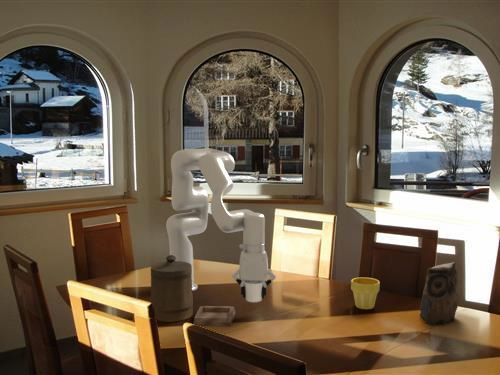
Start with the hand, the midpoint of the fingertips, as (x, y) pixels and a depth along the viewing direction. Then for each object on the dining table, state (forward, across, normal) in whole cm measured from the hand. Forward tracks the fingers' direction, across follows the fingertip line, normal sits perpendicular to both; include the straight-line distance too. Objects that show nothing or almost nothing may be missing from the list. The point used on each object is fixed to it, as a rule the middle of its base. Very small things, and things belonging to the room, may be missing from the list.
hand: (253, 296), depth 199 cm
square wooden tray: (+7, -13, -5) cm, 16 cm away
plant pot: (+6, +41, +10) cm, 42 cm away
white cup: (+1, 0, 0) cm, 1 cm away
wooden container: (+8, -29, -2) cm, 30 cm away
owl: (+6, +64, -2) cm, 64 cm away
